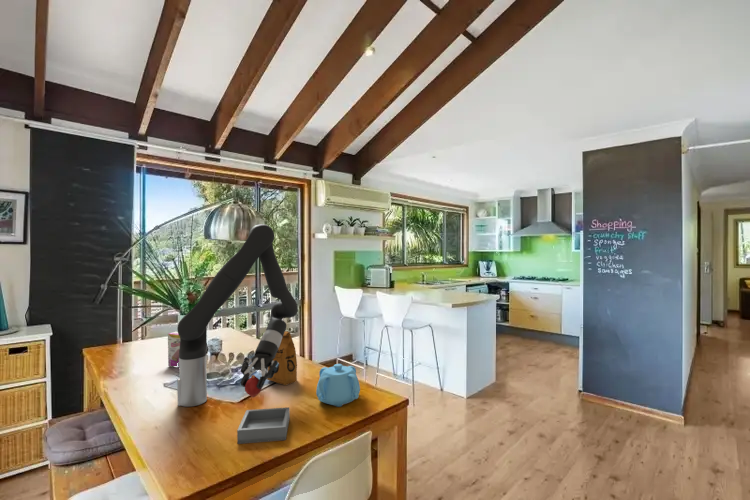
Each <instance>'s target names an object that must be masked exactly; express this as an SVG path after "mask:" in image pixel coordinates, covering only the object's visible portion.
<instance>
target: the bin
mask: <svg viewBox="0 0 750 500" xmlns="http://www.w3.org/2000/svg"><path fill="white" fill-rule="evenodd" d="M290 412H291V411H290V406H289V407H276V408H275V407H273V408H261V409H260V408H258V409H246V410H245V412H244V414H243V416H242V419H241V421H240V424H239V426H238V428H237V433H236V436H237V437H236V438H237V439H236V442H237V443H236V444H237V445H240V444H252V443H265V442H266V443H267V442H279V441H287V436H288V435H287V434H288V429H289V423H290V419H291V417H290Z"/></svg>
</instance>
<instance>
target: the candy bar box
mask: <svg viewBox="0 0 750 500" xmlns="http://www.w3.org/2000/svg"><path fill="white" fill-rule="evenodd" d="M179 348H180V336H179V334H178V331H172V332H168V333H167V349H168V350H167V354H168V356H167V357H168V358H167V359H168V366H177V363H178V362H179Z"/></svg>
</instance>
